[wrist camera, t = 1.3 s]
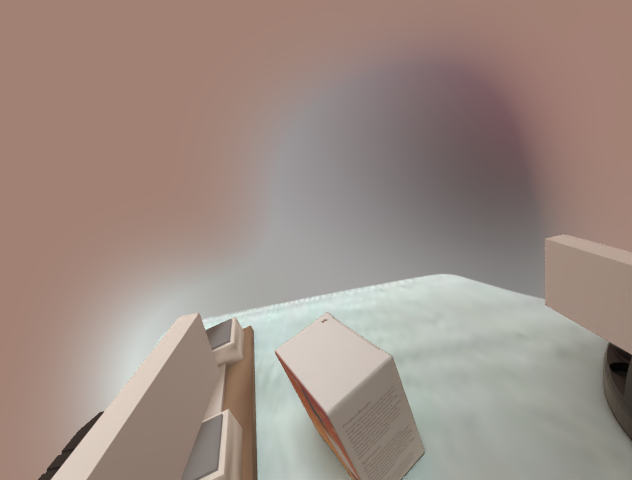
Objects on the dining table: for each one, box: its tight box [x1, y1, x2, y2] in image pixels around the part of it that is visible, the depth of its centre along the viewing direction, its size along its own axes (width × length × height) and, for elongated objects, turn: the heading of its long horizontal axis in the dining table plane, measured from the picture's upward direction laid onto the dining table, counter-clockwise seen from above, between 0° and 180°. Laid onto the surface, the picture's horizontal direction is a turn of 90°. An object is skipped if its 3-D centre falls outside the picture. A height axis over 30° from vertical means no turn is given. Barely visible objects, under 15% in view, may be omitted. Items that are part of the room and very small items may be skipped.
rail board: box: [181, 317, 257, 480], centre depth 33 cm, size 10×24×4 cm, turn 13°
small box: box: [275, 312, 424, 480], centre depth 23 cm, size 8×6×10 cm
